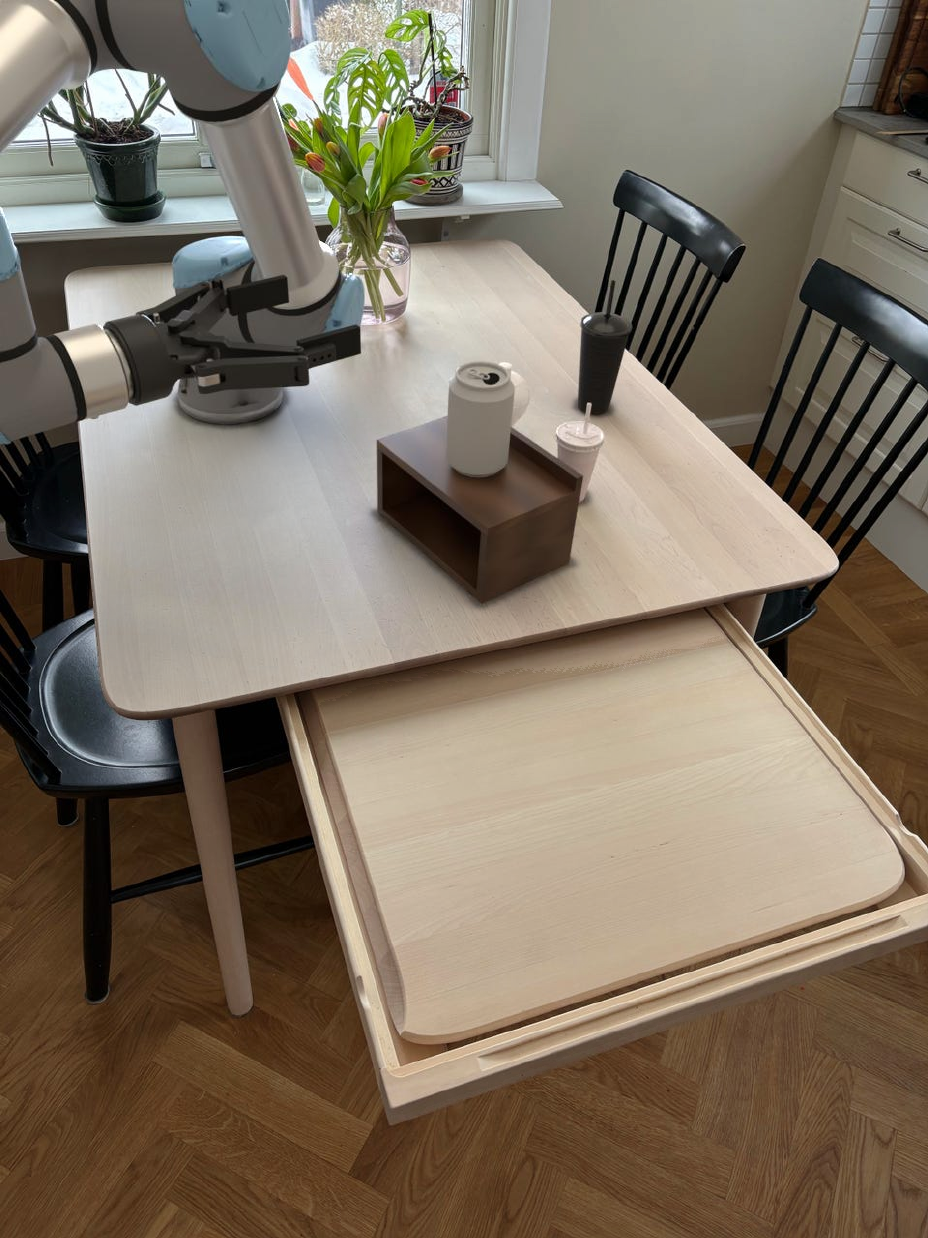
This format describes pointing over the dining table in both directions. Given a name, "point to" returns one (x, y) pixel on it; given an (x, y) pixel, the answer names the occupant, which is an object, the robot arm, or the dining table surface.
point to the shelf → (479, 509)
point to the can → (479, 418)
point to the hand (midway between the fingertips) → (321, 312)
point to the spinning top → (518, 393)
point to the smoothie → (580, 447)
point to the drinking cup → (601, 356)
